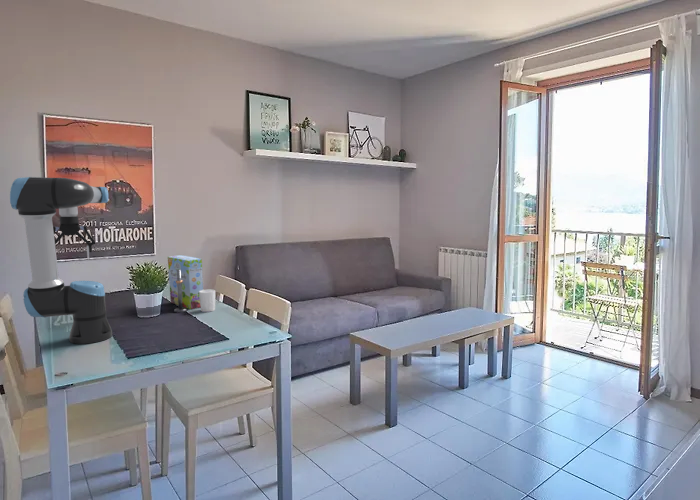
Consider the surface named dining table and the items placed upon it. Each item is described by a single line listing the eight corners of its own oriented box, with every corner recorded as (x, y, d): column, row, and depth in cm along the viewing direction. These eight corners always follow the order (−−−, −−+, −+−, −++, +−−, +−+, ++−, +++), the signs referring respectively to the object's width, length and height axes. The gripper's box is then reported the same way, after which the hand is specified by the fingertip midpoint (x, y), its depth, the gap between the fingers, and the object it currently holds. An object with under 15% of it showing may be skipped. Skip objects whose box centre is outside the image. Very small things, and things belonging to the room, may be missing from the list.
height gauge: (188, 311, 226) (186, 270, 224) (175, 313, 223) (173, 271, 221) (185, 309, 231) (183, 268, 229) (173, 310, 228) (171, 269, 226)
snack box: (168, 303, 244) (166, 256, 241) (183, 300, 250) (181, 254, 247) (190, 309, 230) (187, 259, 227) (205, 306, 236) (203, 258, 233)
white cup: (219, 309, 230) (218, 290, 228) (207, 313, 223) (206, 293, 222) (208, 307, 234) (208, 288, 233) (196, 311, 227) (195, 291, 226)
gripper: (98, 215, 224) (101, 257, 226) (37, 216, 210) (40, 261, 213) (99, 215, 218) (102, 259, 220) (36, 216, 204) (40, 263, 206)
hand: (72, 260), depth 216 cm, fingers open, 13 cm apart
